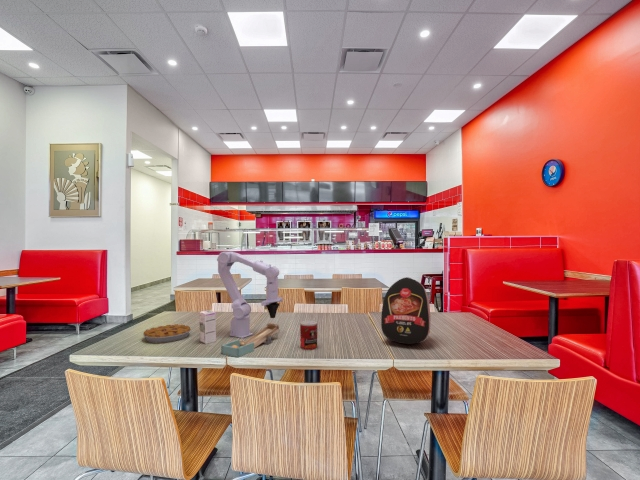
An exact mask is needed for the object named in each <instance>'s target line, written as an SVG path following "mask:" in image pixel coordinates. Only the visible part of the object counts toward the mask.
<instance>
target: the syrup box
mask: <svg viewBox="0 0 640 480" xmlns="http://www.w3.org/2000/svg"><path fill="white" fill-rule="evenodd" d="M216 316H217V315H216V311H214V310H210V309H209V310H208V309H207V310H202V311H199V342H200V343H203V344H204V345H207V344H211V343H215V342H217V330H216V329H217V328H216V327H217V324H216Z"/></svg>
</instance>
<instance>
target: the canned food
mask: <svg viewBox="0 0 640 480" xmlns="http://www.w3.org/2000/svg"><path fill="white" fill-rule="evenodd" d="M299 324H300V326H299V328H300V332H299V333H300V334H299V335H300V337H299V341H300V348H301V349H303V350H307V351H308V350H315V349H316V348H318V322H317V321H315V320H303V321H300V323H299Z"/></svg>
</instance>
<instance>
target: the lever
mask: <svg viewBox="0 0 640 480" xmlns="http://www.w3.org/2000/svg"><path fill="white" fill-rule="evenodd" d="M278 331H280V326H279V324H277V323H271V322H270V323H266V326H265V327H264V328H261V330H259V331H258V332H256V333H255V335H254V334H253V335H251V336H250V337H249V338H248V339H246V340H244V341H243V340H240V346H244V345H247V344H250V343H252V342H254V349H255V348H256V347H258V346H260V345H262V344H261V343H262V342H264V341H265V340H266V337H267V336H271V337H272V336H273V335H274V334H276V333H277V332H278ZM235 340H236V339H234V340H233V341H235Z"/></svg>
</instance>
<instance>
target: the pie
mask: <svg viewBox="0 0 640 480" xmlns="http://www.w3.org/2000/svg"><path fill="white" fill-rule="evenodd" d="M191 331H192V329H191V326H189V325H185V324H178V323H177V324H176V323H175V324H166V325H158V326H157V327H150V328H149V329H145V330H144V331H143V334H142V335H143V337H145V338H144V339H146V341H147V342H148V341H149V343H151V342H152V343H153V344H164V343H171V342H176V341H180V340H184V339H186V338H188V336H189V334H190V332H191Z"/></svg>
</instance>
